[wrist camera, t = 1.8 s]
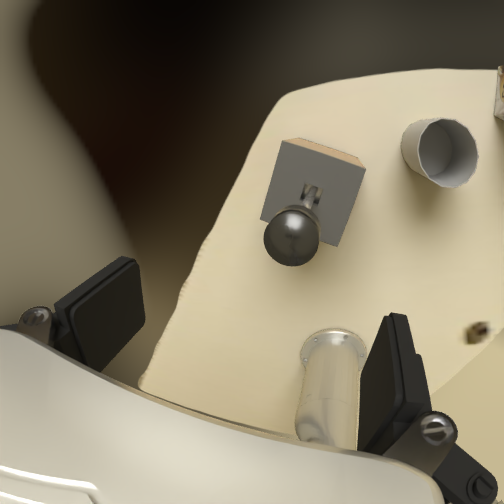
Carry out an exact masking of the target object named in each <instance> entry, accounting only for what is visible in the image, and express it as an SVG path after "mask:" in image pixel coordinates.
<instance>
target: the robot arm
mask: <svg viewBox="0 0 504 504" xmlns="http://www.w3.org/2000/svg"><path fill="white" fill-rule="evenodd" d="M54 307H55V311H56V312H55V313H52V311H51V309H50V308H48V307H46V306H36V307H32V308H30V309H28V310H26V311H25V312H24V313H23V314H22V315H21V317H20V319H19V322H18V324H12V325H6V326H0V504H504V503H503V502H502V500H501V501H500V502H497V500H496V496H497V491H498V486H497V481H496V479H495V477H494V476H493V475H492V474H491V473H490V472H489V471H488V470H487V469H485V468H484V467H483V466H482V465H481V464H479V463H478V462H477V461H476V460H475V459H473V458H472V457H471V456H470V455H469V454H467V453H466V452H465V451H464V450H463V449H461V448H460V447H459V446H458V445H457V444H456V443H455V442H456V440H457V437H458V430H457V426H456V424H455V423H454V421H453V420H452V419H451V418H450V417H449V416H448V415H446V414H444V413H442V412H439V411H432V407H431V401H430V395H429V390H428V385H427V380H426V375H425V370H424V366H423V361H422V358H421V355H419V354H416V352H415V348H414V344H413V339H412V335H411V331H410V327H409V323H408V319H407V316H406V315H403V314H398V313H392V312H391V313H390V314H389V316H384V317H383V320H382V322H381V325H380V328H379V330H378V333H377V336H376V338H375V341H374V343H373V346H372V348H371V351H370V353H369V356H368V358H367V360H366V347H365V345H364V343H363V341H362V340H361V339H360V338H359V337H358V336H357V335H355V334H353V333H351V332H349V331H346V330H342V329H327V330H323V331H320V332H317V333H315V334H313V335H312V336H310V337H309V338H308V339H307V340H306V342H305V343H304V345H303V348H302V351H301V360H302V363H303V365H304V367H305V368H306V372H305V377H304V381H303V386H302V391H301V395H300V399H299V404H298V408H297V412H296V417H295V430H296V433H297V436H298V438H299V439H300V440H295V439H291V438H286V437H282V436H277V435H273V434H269V433H265V432H260V431H257V430H253V429H249V428H245V427H242V426H238V425H235V424H231V423H228V422H224V421H221V420H217V419H215V418H211V417H208V416H205V415H202V414H199V413H196V412H193V411H190V410H188V409H185V408H182V407H179V406H176V405H174V404H171V403H168V402H166V401H163V400H161V399H158V398H156V397H153V396H151V395H148V394H146V393H143V392H141V391H139V390H136V389H134V388H132V387H129V386H127V385H125V384H123V383H121V382H118V381H116V380H114V379H112V378H110V377H108V376H105V375H103V374H101V373H100V372H101V371H102V370H103V369H104V368H105V367H106V366H107V365H108V364H109V362H110V361H111V360H112V359H113V358H114V357H115V356H116V355H117V353H119V352H120V350H121V349H122V348H123V347H124V346H125V345H126V344H127V342H129V340H131V338H132V337H133V336H134V335H135V334H136V333H137V332H138V331H139V330H140V329H141V328H142V327H143V325H144V323H145V311H144V304H143V296H142V288H141V278H140V269H139V265H138V264H137V262H136V260H135V259H133V258H128V257H124V256H121V257H119V258H118V259H116V260H115V261H114V262H112V263H110V264H109V265H107V266H106V267H105V268H103V269H102V270H100V271H99V272H97V273H96V274H95V275H93V276H92V277H90V278H89V279H88V280H86V281H85V282H84V283H82V284H81V285H79V286H78V287H76V288H75V289H74V290H73V291H71V292H70V293H68V294H67V295H65V296H64V297H63V298H61V299H60V300H59V301H57V302H56V303H55V304H54ZM365 361H366V363H365ZM364 364H365V365H364ZM363 366H364V368H363V370H362V373H361V378H360V408H359V429H358V444H357V451H356V424H357V405H358V372H359V371H360V370H361V369H362V367H363Z"/></svg>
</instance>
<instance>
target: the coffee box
mask: <svg viewBox="0 0 504 504" xmlns="http://www.w3.org/2000/svg"><path fill="white" fill-rule="evenodd" d="M494 115H495V116H496V117H498V118H500V119H502V120H503V121H504V65H503V66H499V67H498V80H497V93H496V103H495V111H494Z"/></svg>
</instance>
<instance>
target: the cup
mask: <svg viewBox="0 0 504 504" xmlns="http://www.w3.org/2000/svg"><path fill="white" fill-rule="evenodd" d="M401 150H402V154H403V158H404V160H405V161H406V163H407V164H408V165H409V167H410V168H411V169H412V170H414V171H416V172H417V173H419V174H421V175H423V176H424V177H426V178H428V179H429V180H431V181H433V182H434V183H436V184H438V185H439V186H441V187H449V188H456V187H458V186H461V185H463V184H465V183H467V182H468V181H469V179H470V178H471V177H472V175H473V174H474V173H475V171H476V167H477V163H478V158H479V155H478V149H477V144H476V140H475V139H474V137H473V135H472V134H471V132H470V131H469V129H468V128H467V127H466V126H464V125H463V124H462V123H460V122H459V121H457V120H456V119H449V118H433V119H424V120H419V121H417V122H415V123H412V124H410V125H409V127H408V128H407V129H406V131H405V132H404V133H403V136H402V142H401Z"/></svg>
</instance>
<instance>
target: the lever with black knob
mask: <svg viewBox="0 0 504 504" xmlns="http://www.w3.org/2000/svg"><path fill="white" fill-rule="evenodd" d="M322 191H323V189H322V188H319V187H316V186H313V185H310V184H308V183H305V186H304V189H303V193H302V196H301V199H304V201H303V202H302V204H301V205H289V206H286V207H284V208H282V209H281V210H279V211H278V212H277V214H276V215H275V216H274V218H273V219H272V220H271V221H270V223H269V224H268V225H267V227H266V229H265V232H264V245H265V248H266V250H267V252H268V254H269V255H270V256H271V257H272V258H273V259H274V260H275V261H277V262H278V263H280V264H283V265H286V266H299V265H302V264H305V263H307V262H308V261H309V260H311V259H312V257H313V256H314V255H315V253H316V251H317V248H318V244H319V239H320V234H321V225H320V222H319V219H318V217H317V216H316V214H315V213H314V212H313V211H312V210H311V207H312V204H313V203H315V204H318V203H319V200H320V197H321V194H322Z"/></svg>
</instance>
